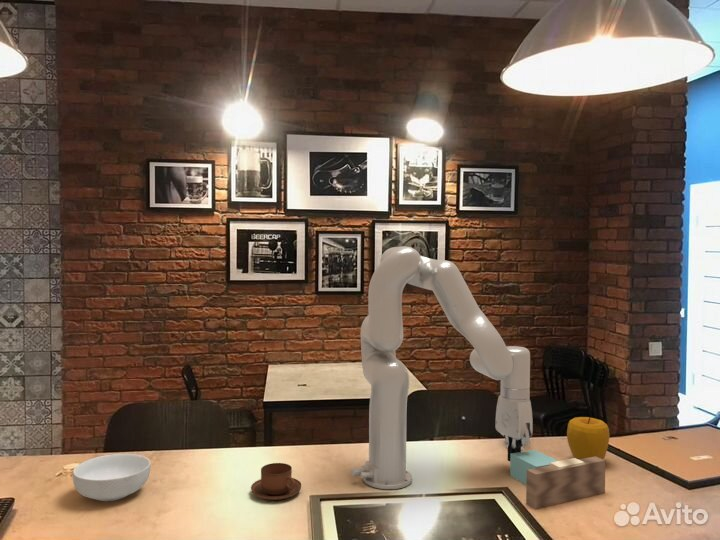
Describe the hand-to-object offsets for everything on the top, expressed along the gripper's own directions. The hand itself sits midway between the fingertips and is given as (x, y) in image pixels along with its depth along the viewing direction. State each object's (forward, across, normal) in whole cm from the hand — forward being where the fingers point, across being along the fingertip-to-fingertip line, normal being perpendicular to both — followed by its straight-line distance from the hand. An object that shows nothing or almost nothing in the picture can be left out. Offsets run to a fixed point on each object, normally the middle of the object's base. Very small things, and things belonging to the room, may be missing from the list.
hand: (514, 460), depth 151 cm
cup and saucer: (+3, -13, -62) cm, 64 cm away
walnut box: (+3, +19, 0) cm, 19 cm away
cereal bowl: (+3, -28, -98) cm, 102 cm away
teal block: (+3, +7, +1) cm, 8 cm away
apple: (+3, +4, +23) cm, 23 cm away
